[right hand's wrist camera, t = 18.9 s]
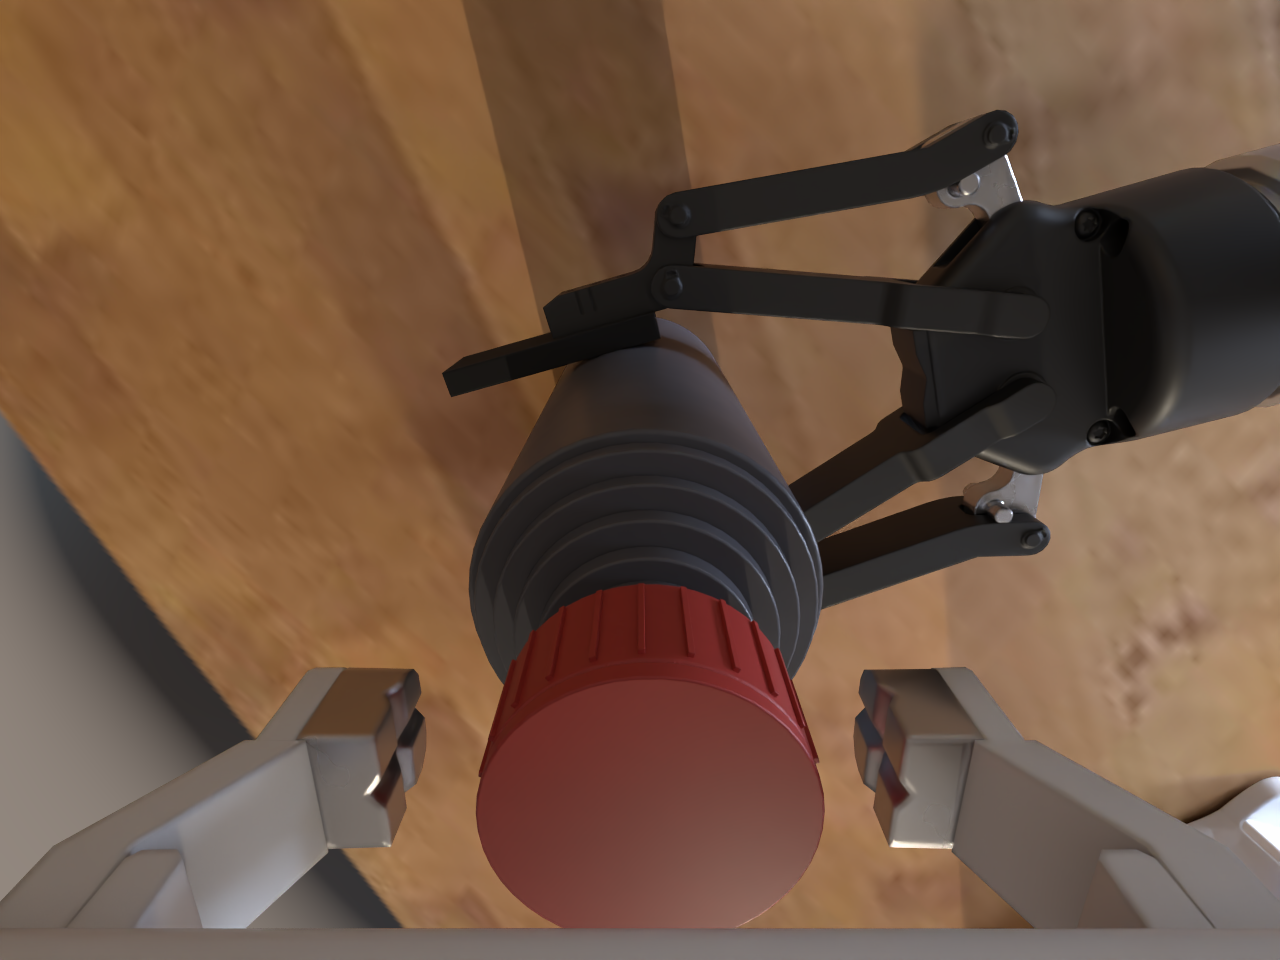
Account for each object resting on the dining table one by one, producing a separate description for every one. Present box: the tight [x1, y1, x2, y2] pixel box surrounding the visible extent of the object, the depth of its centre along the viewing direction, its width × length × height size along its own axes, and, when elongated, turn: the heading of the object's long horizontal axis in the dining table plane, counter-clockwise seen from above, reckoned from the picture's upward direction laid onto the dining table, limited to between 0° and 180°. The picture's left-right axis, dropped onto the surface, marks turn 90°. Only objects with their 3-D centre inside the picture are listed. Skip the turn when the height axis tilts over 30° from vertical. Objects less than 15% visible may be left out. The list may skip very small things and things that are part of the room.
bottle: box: [469, 317, 823, 684], centre depth 19 cm, size 7×7×21 cm
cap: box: [476, 583, 825, 928], centre depth 9 cm, size 4×4×2 cm
